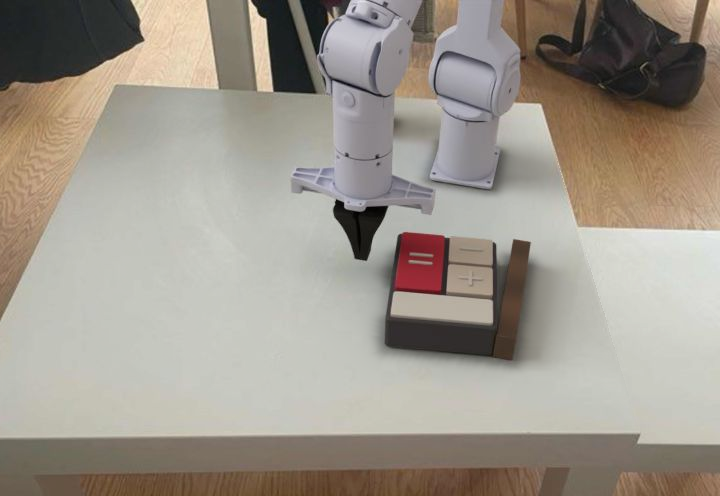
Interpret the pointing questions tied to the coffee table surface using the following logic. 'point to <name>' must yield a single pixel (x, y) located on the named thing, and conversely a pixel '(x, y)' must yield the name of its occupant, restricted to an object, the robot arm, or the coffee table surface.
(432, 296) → the calculator
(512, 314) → the rail
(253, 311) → the coffee table surface
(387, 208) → the robot arm
